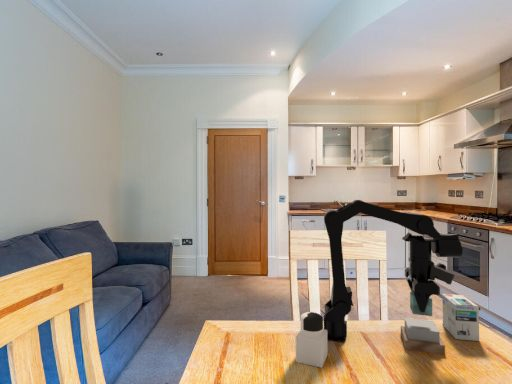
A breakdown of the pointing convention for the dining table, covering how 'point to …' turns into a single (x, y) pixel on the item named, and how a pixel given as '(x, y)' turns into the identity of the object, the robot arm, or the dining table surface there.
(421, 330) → the grey slab
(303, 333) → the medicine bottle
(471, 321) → the light bulb box
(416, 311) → the teal block
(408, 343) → the walnut slab
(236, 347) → the dining table surface
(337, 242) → the robot arm
